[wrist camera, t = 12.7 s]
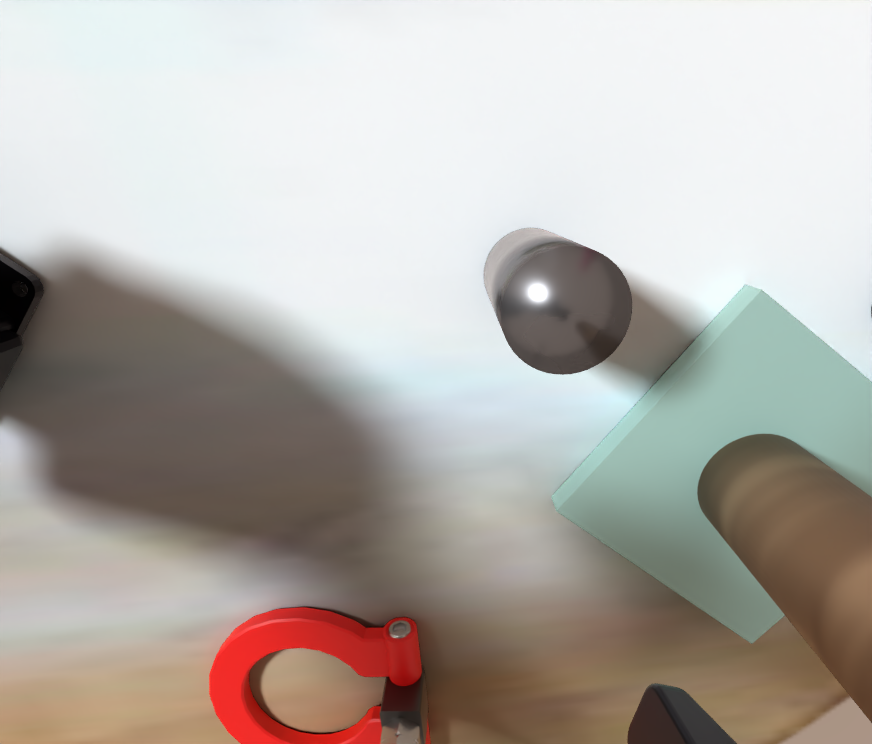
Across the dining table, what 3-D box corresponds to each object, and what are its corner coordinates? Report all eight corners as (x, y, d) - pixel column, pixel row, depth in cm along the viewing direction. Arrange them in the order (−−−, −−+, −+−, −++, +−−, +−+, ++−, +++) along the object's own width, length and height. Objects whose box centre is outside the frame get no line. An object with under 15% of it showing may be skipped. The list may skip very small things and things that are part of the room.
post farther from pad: (465, 284, 19) (474, 325, 13) (522, 208, 18) (558, 218, 12) (535, 335, 19) (573, 398, 13) (593, 264, 18) (659, 298, 13)
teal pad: (551, 496, 21) (556, 511, 20) (745, 284, 19) (761, 289, 18) (739, 624, 23) (751, 643, 22) (940, 447, 20) (964, 460, 19)
